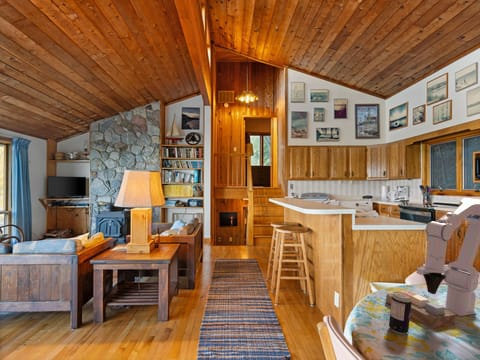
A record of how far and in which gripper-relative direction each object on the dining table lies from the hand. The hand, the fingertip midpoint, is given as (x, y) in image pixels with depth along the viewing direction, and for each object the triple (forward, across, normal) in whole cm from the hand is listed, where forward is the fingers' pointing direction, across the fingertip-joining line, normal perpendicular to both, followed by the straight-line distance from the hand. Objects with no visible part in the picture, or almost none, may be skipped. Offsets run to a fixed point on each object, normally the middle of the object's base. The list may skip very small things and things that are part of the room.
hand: (431, 292), depth 108 cm
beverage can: (+10, +19, +4) cm, 22 cm away
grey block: (+6, 0, +2) cm, 7 cm away
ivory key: (+6, 0, -4) cm, 8 cm away
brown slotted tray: (+9, 0, -4) cm, 10 cm away
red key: (+7, 0, -10) cm, 13 cm away
